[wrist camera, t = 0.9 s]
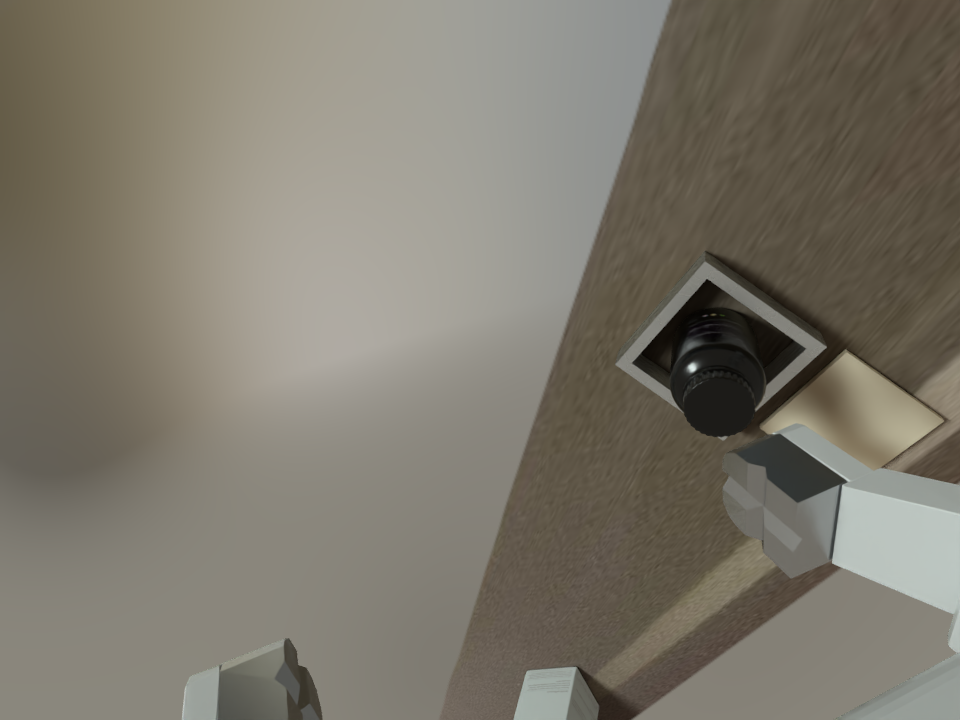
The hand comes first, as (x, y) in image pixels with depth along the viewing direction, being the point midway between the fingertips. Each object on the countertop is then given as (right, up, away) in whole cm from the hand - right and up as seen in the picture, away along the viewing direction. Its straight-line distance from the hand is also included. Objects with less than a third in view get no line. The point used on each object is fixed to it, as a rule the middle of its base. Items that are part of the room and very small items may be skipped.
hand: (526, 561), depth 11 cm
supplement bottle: (+19, +5, +42) cm, 47 cm away
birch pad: (+30, -2, +42) cm, 52 cm away
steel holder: (+19, +5, +42) cm, 47 cm away
